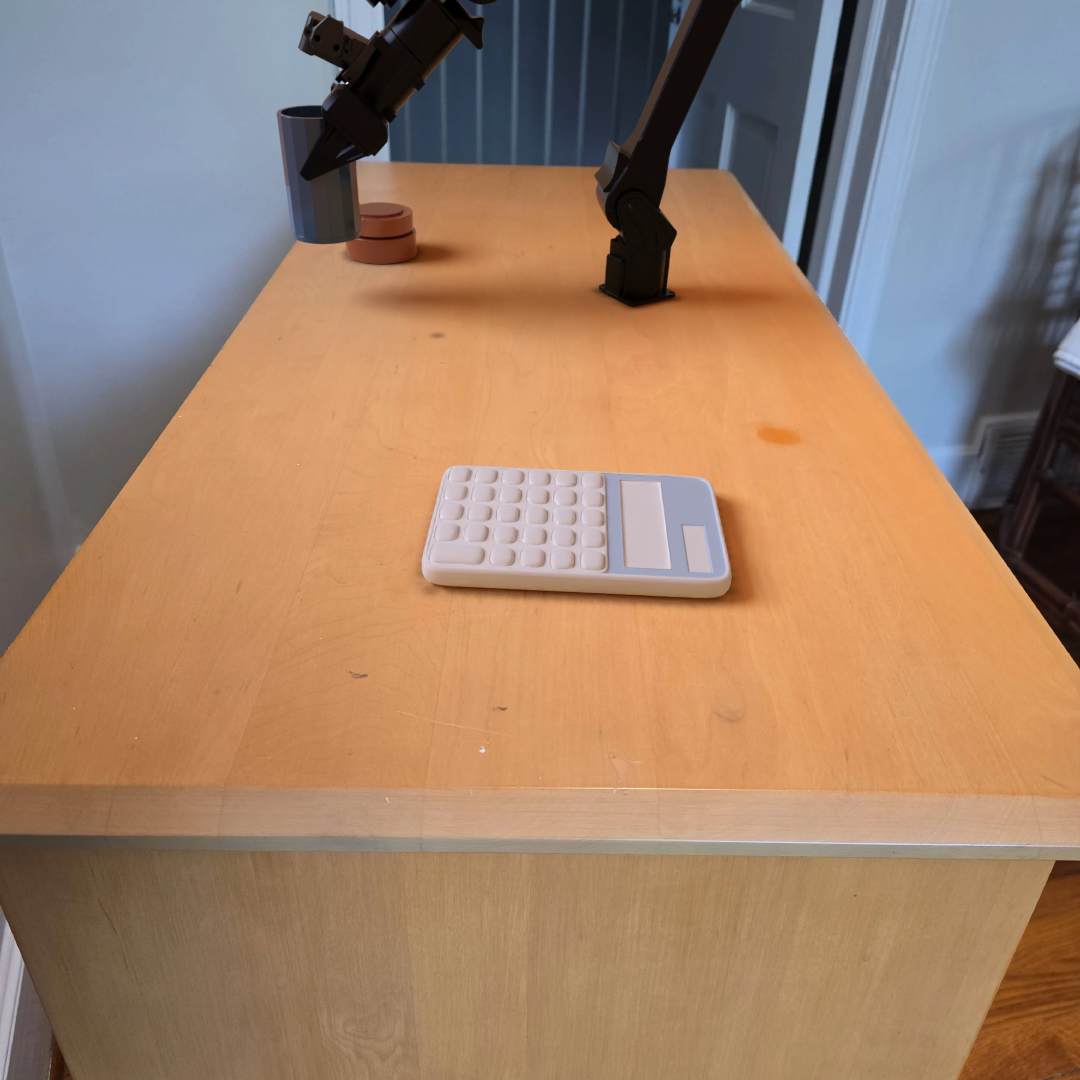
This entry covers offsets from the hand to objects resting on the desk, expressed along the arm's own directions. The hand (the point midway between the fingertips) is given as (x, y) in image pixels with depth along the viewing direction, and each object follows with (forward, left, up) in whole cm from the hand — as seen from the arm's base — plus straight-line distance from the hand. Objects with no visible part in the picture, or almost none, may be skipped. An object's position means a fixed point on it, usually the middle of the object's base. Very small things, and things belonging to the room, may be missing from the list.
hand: (307, 168), depth 95 cm
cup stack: (-12, -11, -13) cm, 21 cm away
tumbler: (-1, +1, -7) cm, 7 cm away
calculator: (+3, +53, -14) cm, 55 cm away
